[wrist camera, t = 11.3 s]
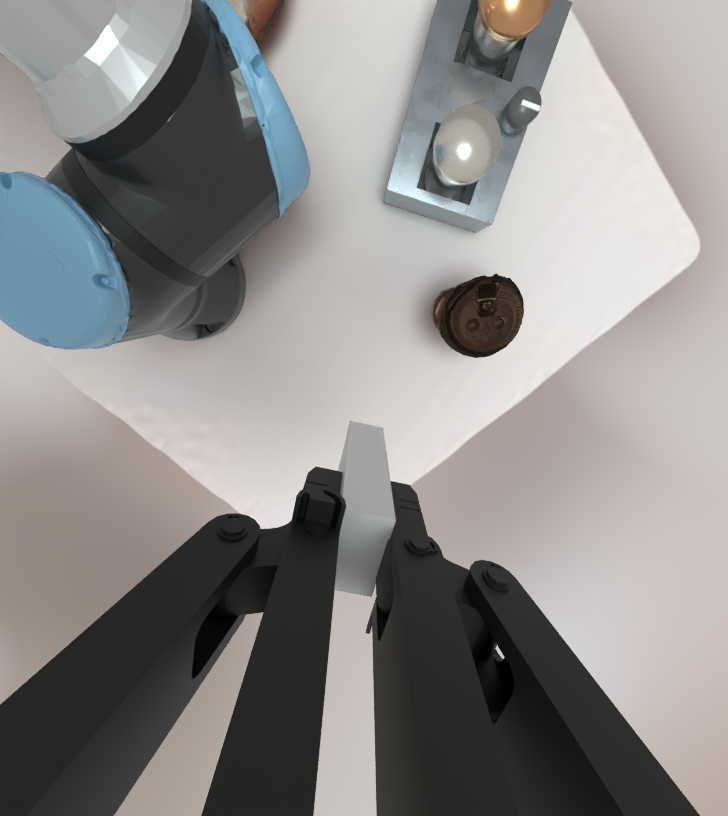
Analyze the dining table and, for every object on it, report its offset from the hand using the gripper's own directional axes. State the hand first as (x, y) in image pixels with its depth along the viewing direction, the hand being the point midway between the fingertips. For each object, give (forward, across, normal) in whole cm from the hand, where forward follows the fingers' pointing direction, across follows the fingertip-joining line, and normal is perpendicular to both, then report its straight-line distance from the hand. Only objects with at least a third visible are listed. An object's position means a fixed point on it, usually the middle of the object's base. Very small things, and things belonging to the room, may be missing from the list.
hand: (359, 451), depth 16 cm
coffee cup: (+34, +11, +7) cm, 37 cm away
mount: (+34, +5, +26) cm, 43 cm away
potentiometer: (+28, +10, +26) cm, 39 cm away
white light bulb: (+33, +5, +21) cm, 39 cm away
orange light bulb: (+33, +5, +32) cm, 46 cm away
